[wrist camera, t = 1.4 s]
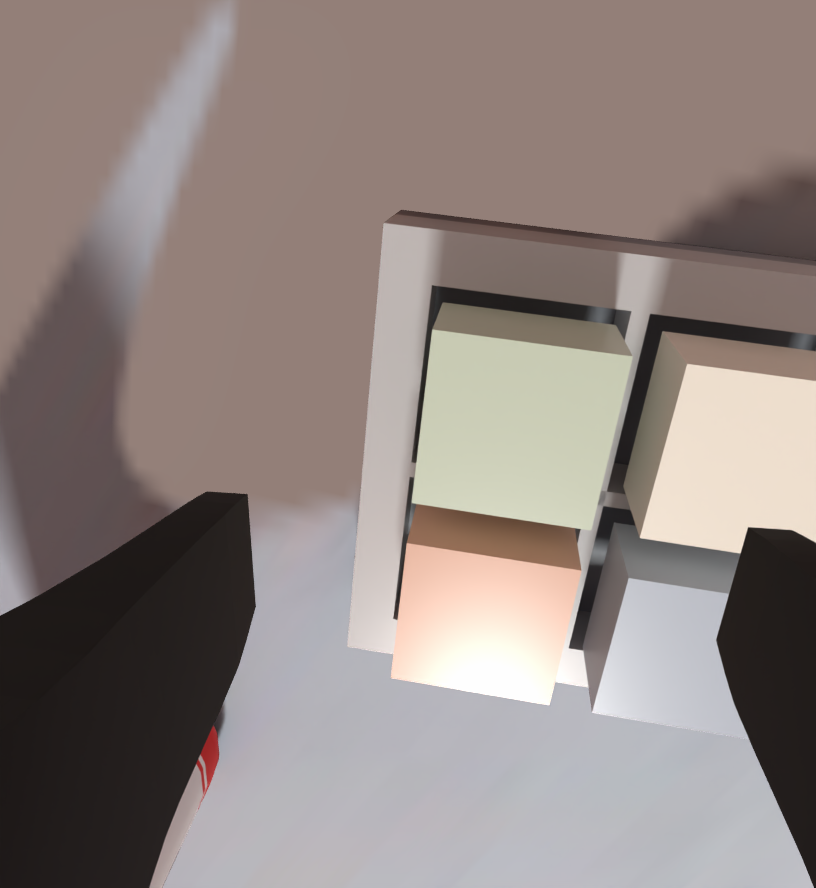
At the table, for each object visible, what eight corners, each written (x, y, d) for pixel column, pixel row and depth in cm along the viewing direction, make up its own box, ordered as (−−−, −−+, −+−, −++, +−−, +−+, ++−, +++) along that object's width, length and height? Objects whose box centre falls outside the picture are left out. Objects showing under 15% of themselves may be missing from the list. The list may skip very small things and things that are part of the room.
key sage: (615, 324, 16) (633, 356, 14) (580, 479, 17) (590, 530, 15) (442, 302, 16) (432, 329, 14) (423, 456, 18) (411, 503, 15)
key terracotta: (572, 516, 18) (581, 570, 16) (544, 640, 19) (549, 705, 17) (419, 493, 18) (406, 542, 16) (404, 616, 20) (390, 677, 17)
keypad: (877, 268, 17) (940, 292, 15) (738, 650, 22) (767, 718, 20) (400, 210, 18) (383, 222, 16) (365, 589, 23) (347, 646, 20)
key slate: (774, 546, 17) (811, 606, 15) (729, 670, 19) (757, 741, 17) (614, 522, 18) (628, 578, 15) (582, 646, 19) (592, 712, 17)
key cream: (843, 355, 15) (898, 391, 13) (787, 510, 17) (828, 567, 15) (662, 331, 16) (687, 363, 13) (622, 486, 17) (639, 537, 15)
